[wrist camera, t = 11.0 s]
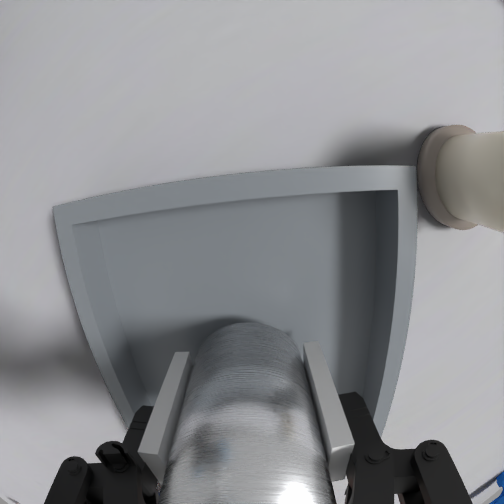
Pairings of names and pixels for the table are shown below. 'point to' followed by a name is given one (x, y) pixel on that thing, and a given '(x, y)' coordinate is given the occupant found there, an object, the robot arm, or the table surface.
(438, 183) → the door knob
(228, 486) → the shaker
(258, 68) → the table surface
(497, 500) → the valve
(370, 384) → the tray
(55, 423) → the table surface
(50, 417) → the table surface
